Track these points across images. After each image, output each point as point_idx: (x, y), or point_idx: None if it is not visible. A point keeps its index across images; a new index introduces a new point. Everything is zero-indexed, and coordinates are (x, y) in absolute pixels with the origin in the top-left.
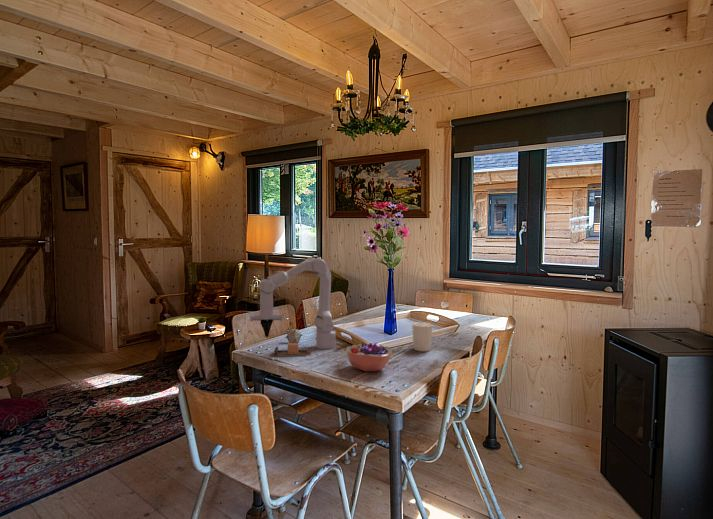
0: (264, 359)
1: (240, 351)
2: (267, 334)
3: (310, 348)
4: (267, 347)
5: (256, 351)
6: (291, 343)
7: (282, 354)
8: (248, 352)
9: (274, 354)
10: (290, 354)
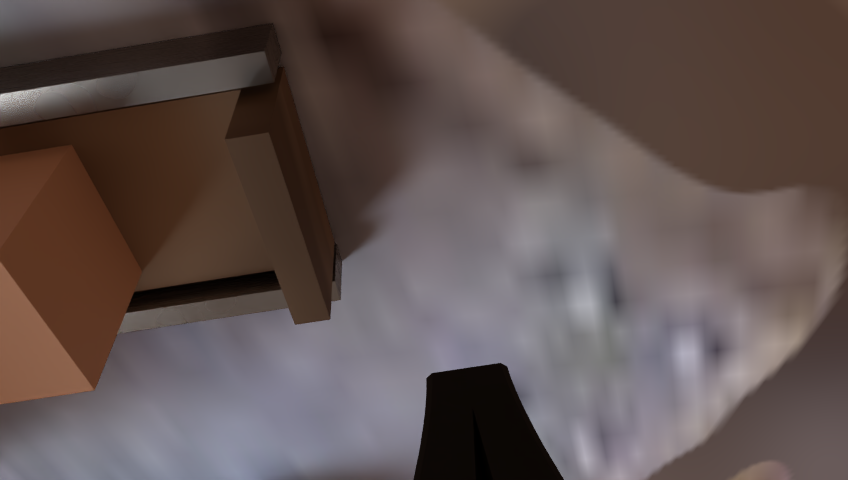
0: (441, 15)
1: (814, 307)
2: (450, 419)
3: (25, 465)
4: None
5: (621, 326)
6: (6, 363)
7: (184, 178)
8: (717, 286)
9: (275, 95)
10: (20, 160)
